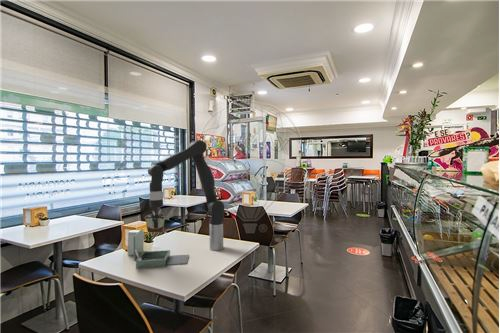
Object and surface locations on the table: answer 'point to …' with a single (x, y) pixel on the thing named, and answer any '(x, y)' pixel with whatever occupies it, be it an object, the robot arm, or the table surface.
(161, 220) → the food container
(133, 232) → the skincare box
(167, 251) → the case
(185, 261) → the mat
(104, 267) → the table surface
